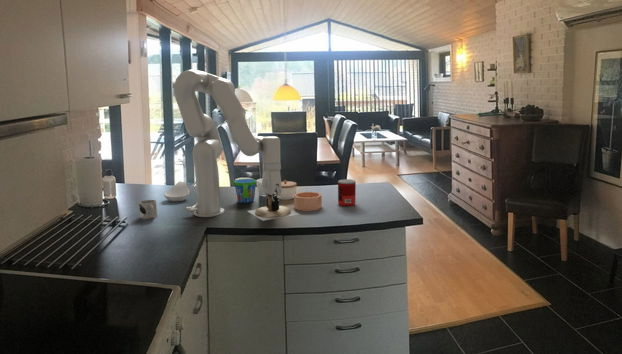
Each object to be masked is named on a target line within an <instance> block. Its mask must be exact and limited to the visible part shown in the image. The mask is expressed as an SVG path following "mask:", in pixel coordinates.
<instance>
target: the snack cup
mask: <svg viewBox="0 0 622 354" xmlns="http://www.w3.org/2000/svg"><path fill="white" fill-rule="evenodd" d="M257 183H258V182H257V180H256V179H253V178H241V179H235V180H233V184H234V185H233V186H234V188H235V192H236V198H237V202H238V203H240V204H246V203H253V202H254V201H255V197H256V196H255V195H256V188H257Z"/></svg>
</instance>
